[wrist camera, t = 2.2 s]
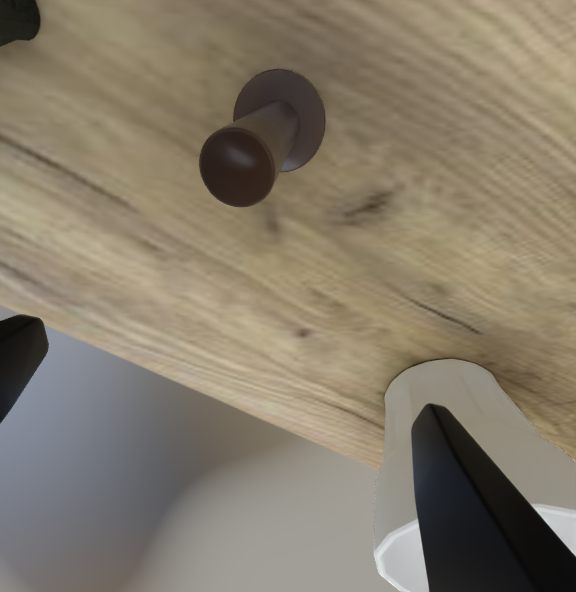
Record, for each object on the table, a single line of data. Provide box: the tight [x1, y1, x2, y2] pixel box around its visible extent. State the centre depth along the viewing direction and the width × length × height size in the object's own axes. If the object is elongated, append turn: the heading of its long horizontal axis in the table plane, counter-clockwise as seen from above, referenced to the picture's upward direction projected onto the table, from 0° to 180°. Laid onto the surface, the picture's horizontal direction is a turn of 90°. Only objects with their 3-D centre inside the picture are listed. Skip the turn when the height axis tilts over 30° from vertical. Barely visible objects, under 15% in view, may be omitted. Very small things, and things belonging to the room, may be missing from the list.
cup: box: [373, 359, 576, 592], centre depth 22 cm, size 12×12×11 cm
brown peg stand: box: [199, 69, 325, 207], centre depth 13 cm, size 4×4×10 cm
